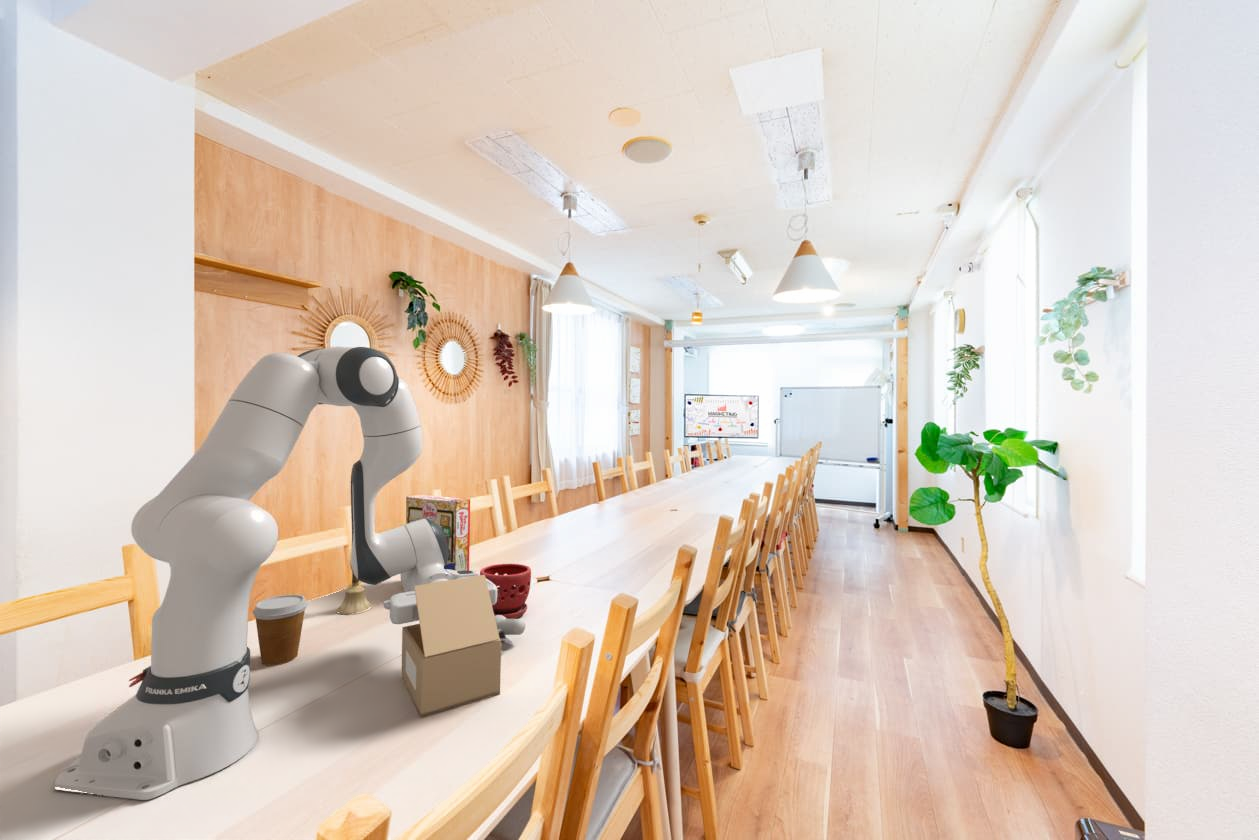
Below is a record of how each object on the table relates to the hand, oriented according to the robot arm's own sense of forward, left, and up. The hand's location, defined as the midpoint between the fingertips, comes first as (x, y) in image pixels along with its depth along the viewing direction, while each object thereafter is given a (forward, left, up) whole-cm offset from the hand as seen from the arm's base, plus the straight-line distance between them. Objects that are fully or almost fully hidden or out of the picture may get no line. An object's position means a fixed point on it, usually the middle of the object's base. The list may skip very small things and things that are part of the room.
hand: (456, 613), depth 94 cm
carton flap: (0, -1, 0) cm, 1 cm away
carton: (-2, +3, -15) cm, 15 cm away
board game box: (-21, +62, -15) cm, 67 cm away
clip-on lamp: (+1, +22, -15) cm, 27 cm away
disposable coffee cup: (-40, +16, -15) cm, 45 cm away
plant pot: (+3, +39, -15) cm, 42 cm away
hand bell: (-37, +44, -15) cm, 59 cm away
